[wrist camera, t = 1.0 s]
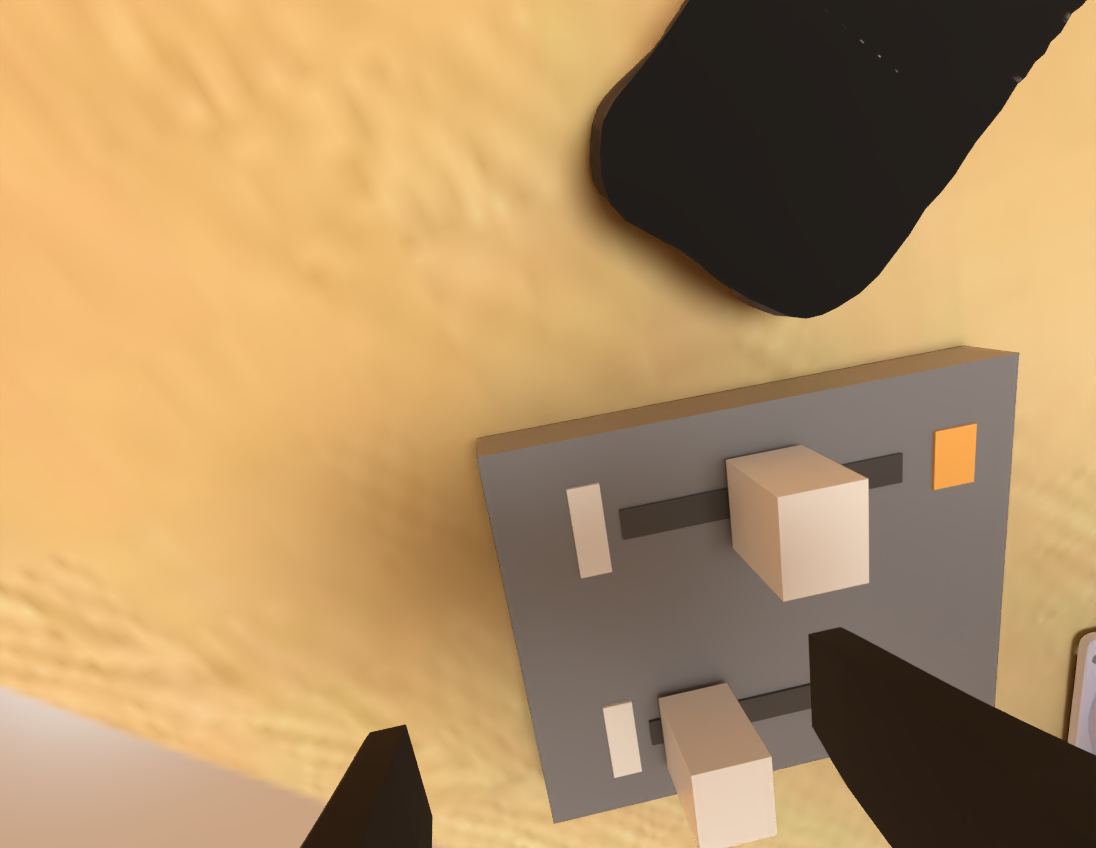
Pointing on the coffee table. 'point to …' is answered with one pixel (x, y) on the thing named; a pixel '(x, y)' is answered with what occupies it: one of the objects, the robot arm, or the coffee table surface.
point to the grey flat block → (722, 574)
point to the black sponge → (808, 132)
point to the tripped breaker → (799, 521)
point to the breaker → (718, 767)
